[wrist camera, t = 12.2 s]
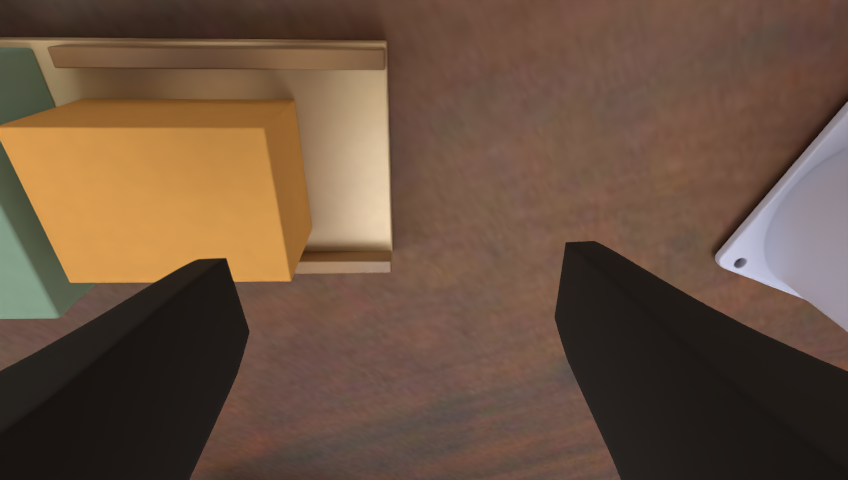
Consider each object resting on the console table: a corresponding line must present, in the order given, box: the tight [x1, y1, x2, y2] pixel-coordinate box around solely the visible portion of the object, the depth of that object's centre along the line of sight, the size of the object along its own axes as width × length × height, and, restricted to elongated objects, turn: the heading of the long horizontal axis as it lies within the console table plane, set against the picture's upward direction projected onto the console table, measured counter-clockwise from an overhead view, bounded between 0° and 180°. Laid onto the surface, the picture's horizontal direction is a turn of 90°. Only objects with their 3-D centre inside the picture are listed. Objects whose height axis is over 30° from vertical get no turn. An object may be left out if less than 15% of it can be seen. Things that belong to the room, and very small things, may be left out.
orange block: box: [0, 99, 312, 283], centre depth 14 cm, size 7×5×4 cm
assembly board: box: [0, 37, 393, 274], centre depth 16 cm, size 17×8×2 cm, turn 89°
